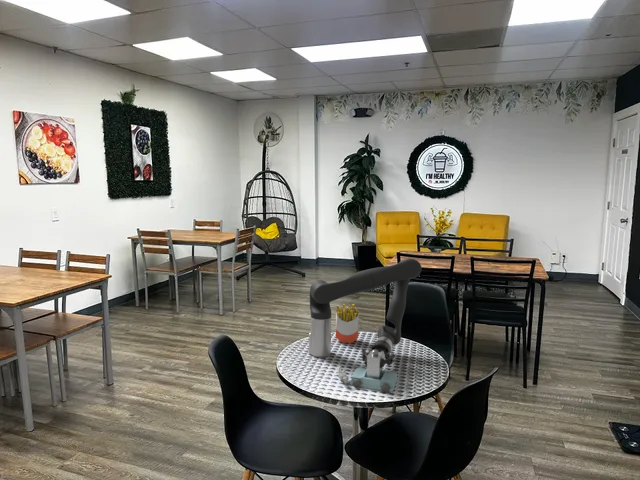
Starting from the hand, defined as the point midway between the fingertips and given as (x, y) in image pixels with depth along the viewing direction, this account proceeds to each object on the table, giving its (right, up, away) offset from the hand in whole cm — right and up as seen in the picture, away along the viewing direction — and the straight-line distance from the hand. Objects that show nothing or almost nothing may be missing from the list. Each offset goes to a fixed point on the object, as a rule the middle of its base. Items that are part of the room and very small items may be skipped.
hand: (373, 364), depth 165 cm
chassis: (+1, -8, +4) cm, 9 cm away
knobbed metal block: (+1, -6, +3) cm, 7 cm away
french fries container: (-7, -2, +47) cm, 48 cm away
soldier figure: (-11, -8, +6) cm, 15 cm away
